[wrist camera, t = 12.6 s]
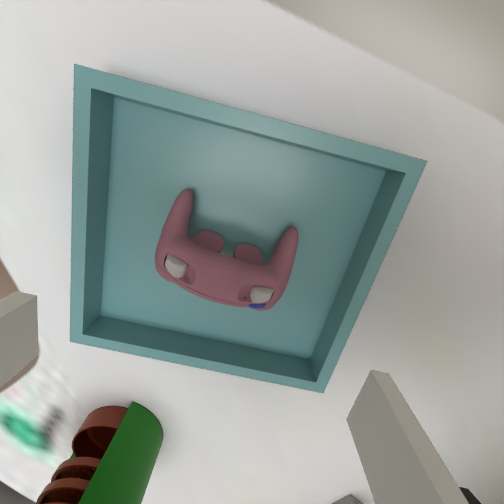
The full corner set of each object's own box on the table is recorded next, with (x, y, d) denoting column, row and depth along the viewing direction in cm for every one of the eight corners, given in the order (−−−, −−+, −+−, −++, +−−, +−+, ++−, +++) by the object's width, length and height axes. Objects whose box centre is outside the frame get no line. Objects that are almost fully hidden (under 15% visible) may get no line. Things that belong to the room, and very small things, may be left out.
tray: (399, 160, 20) (427, 161, 17) (314, 364, 27) (323, 393, 23) (106, 80, 19) (74, 63, 15) (94, 317, 25) (69, 341, 22)
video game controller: (175, 223, 23) (138, 289, 18) (181, 179, 19) (137, 244, 15) (282, 260, 24) (274, 331, 19) (305, 224, 20) (302, 298, 16)
